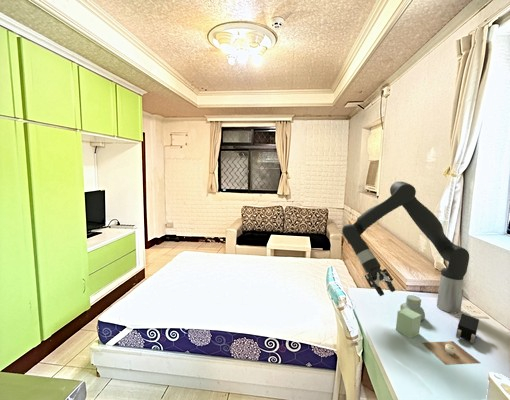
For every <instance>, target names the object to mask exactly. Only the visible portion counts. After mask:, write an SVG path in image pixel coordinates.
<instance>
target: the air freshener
mask: <svg viewBox="0 0 510 400" xmlns="http://www.w3.org/2000/svg"><path fill="white" fill-rule="evenodd" d="M421 304H422V299H421V297H419V296H416V295H413V294H409V295H407V296H406V301H405V302H403V303H402V304H400V306H399V308H400V309H399V310H402V309H404V308H408V309H410V310H412V311H414V312H416V313H418V314H420V315H421V321H423V320H425V319H426V313H425V311H424V309H423V307H421V306H422V305H421Z"/></svg>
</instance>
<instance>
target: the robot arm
mask: <svg viewBox="0 0 510 400" xmlns="http://www.w3.org/2000/svg"><path fill="white" fill-rule="evenodd" d="M389 193H390V196H389V197H388V198H387V199H385V200H384V201H382V202H380V203H378V204H376V205H374V206H372V207H370V208H368V209H367V210H365V211H364V212H363V213H361V214H360V215H359V216H358V217H357V219H356V221H355V222H353V224H351V223H348V224H345V225H344V226H343V227H342V230H341V231H342V234H343V236H344V238H345V240H346V241H347V242H348V243H349V245H350V246H351V248H352V250H353V252H354V254H355V255H356V257H357V259H358V261H359V263H360V264H361V266H362V268H363V270H364V272H365V273H366V274H365V275H364V278H365V280H366V281H367V284H368V285H369V287H370V288H371V289H372V288H373V289H375V290H376V292H377V294H378V295H379V297H382V296H384V295H385V293H384V291H383V289H382V287H381V286H380V282H383V283H385V284H386V287H388V289H389V291H390V292H391V293H394V292H396V288H395V286H394V284H393V283H392V282H393V281H394V279H393V277H392V275H391V274H390V272H388V270H387V268H384V269H381V266H382V265H381V263H380V262H379V260H378V259H377V257H376V256H375V254H374V252H373V251H372V250H371V248H370V247H369V245H368V244H367V242H366V241H365V240H364V239H363V237H362V236H361V235H362V234H363V233H364V232H365V231H366V230H367V229H369V228H370V227H371V226H373V225H374V224H375V223H377V222H378V221H379V220H380V219H381V218H383V217H384V216H386V215H388V214H389V213H391V212H393V211H394V210H396V209H397V208H399V207H402V208H403V209H404V210H405V211H406V213H407V215H409V217H410V218H411V220H412V221H413V222H414V224H415V225H416V227H417V228H418V229H419V230H420V231H421V232H422V233H423V234H424V236H426V238H427V239H428V240H429V241H430V242H431V243H432V244H433V246H434V248H435V249H436V250H437V252H438V254H439V255H440V257H441V258H442V259H443V260H445V261H446V262H448V266H447V267H443V268H442V269H441V270H440V271H441V272H440V278H439V283H438V292H437V293H438V294H437V299H436V307H437V308H438V307H439V308H438V309H440V310H441V309H442V311H444V312H446V313H451V314H456V313H459V312H461V311H462V303H463V297H464V294H463V292H462V290H463V289H462V288H463V284H464V278H465V276H466V274H467V272H468V267H469V262H470V253H469V251H468V250H467V249H466V248H464V247H461V246H460V245H457V244H454V243H453V242H452V241H451V240H450V239H449V238H448V237H447V236H446V234H445V232H444V228H443V224H442V223H441V221H440V220H439V219H438V216H436V215H435V214H434V212H432V211H431V210H430V209H429V208H428V207H427V206H426V205H424V204H423V203H422V202H420V201H419V199H417V197H416V194H417V191H416V188H415V186H414V185H412V184H410V183H408V182H405V181H395V182H394V183H392V184H391V186H390V188H389Z"/></svg>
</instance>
